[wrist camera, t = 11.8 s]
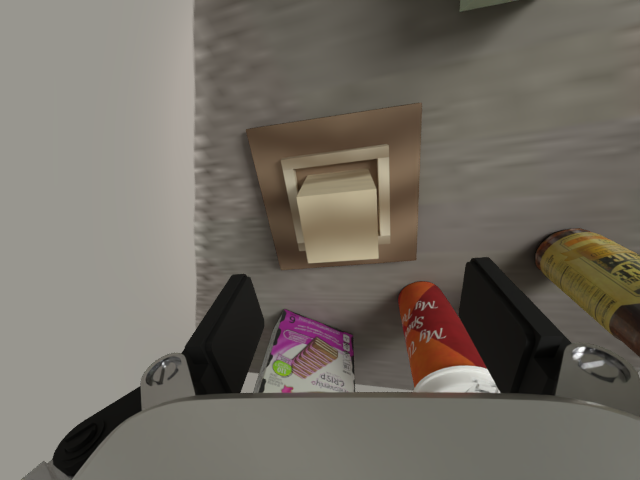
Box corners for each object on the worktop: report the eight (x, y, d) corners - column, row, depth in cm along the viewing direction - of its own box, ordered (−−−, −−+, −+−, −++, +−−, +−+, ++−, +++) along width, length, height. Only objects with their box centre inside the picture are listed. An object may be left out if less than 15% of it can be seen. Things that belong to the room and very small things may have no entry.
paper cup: (404, 267, 31) (443, 371, 19) (462, 283, 32) (538, 395, 19) (380, 312, 35) (401, 424, 23) (433, 326, 35) (481, 443, 23)
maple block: (307, 175, 26) (296, 197, 19) (368, 168, 25) (376, 188, 19) (315, 229, 28) (308, 263, 22) (370, 224, 28) (378, 258, 21)
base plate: (250, 128, 25) (242, 130, 23) (417, 103, 23) (425, 102, 21) (283, 263, 33) (279, 274, 30) (413, 253, 30) (418, 265, 28)
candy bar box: (354, 332, 37) (362, 476, 23) (339, 353, 40) (338, 495, 25) (283, 305, 36) (242, 440, 21) (272, 328, 38) (229, 464, 24)
